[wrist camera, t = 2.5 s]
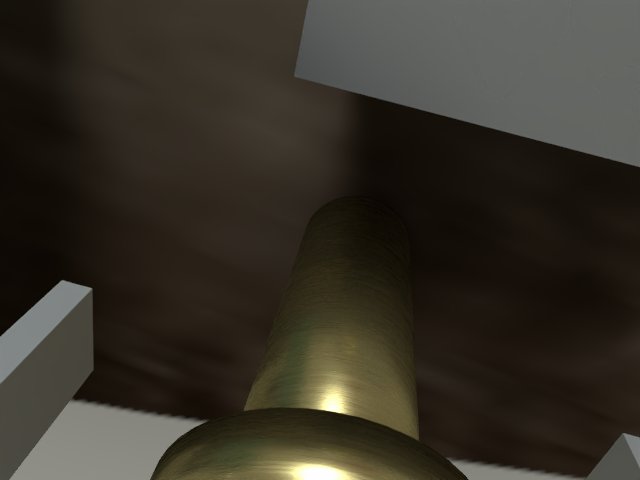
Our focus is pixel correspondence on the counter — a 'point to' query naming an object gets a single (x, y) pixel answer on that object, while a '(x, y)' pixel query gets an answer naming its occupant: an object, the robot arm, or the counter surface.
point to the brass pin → (328, 369)
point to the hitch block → (491, 64)
